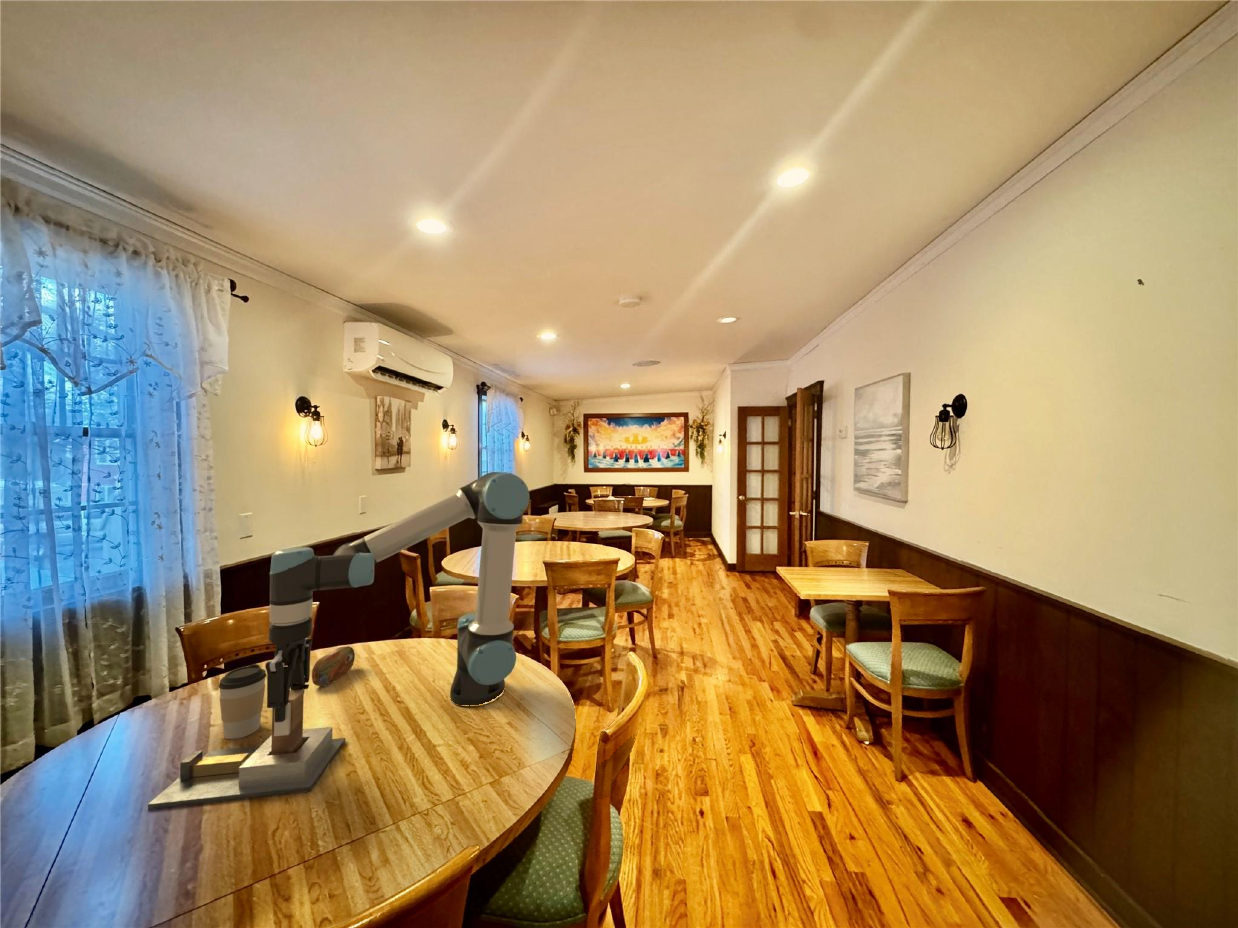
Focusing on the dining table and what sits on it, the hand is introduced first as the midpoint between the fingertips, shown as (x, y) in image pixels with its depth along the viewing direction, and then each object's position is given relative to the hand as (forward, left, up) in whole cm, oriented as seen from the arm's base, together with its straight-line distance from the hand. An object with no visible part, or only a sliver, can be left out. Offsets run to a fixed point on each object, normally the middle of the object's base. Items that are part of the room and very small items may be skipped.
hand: (288, 727), depth 94 cm
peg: (0, 0, -5) cm, 5 cm away
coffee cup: (+19, -17, -9) cm, 27 cm away
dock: (+6, 0, -9) cm, 11 cm away
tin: (+9, -42, -9) cm, 44 cm away
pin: (+14, 0, -8) cm, 16 cm away
